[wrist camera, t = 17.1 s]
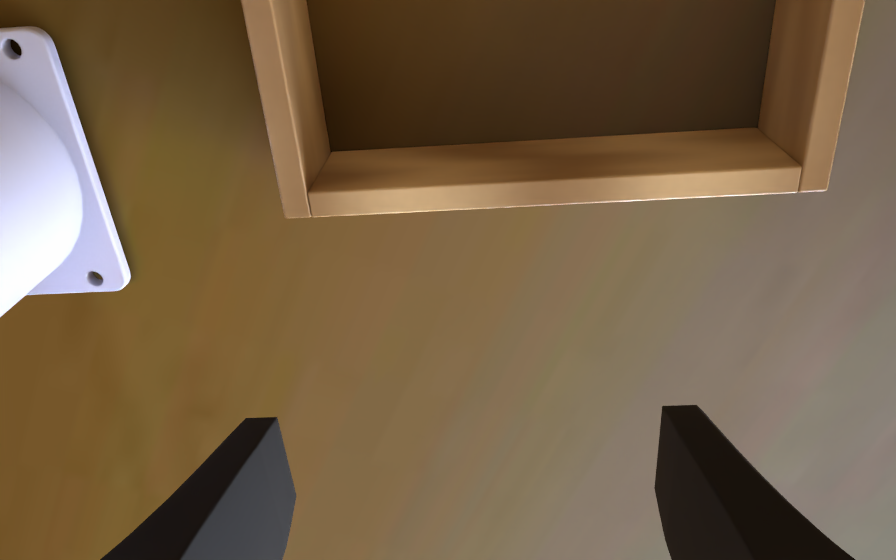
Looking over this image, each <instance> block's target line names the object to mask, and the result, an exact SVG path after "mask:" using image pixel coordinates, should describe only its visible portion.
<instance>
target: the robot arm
mask: <svg viewBox="0 0 896 560" xmlns="http://www.w3.org/2000/svg"><path fill="white" fill-rule="evenodd" d="M11 39H12V40H14V41H16V42H17V43H18V44H19V46H20V47H21V51H22V54H21V56H19V55H17V54H16V53H15V52H14V51H13V50H12V48H11V44H10V41H11ZM93 271H94V272H97V273H99V274H100V275H101V276H102V278H103V280H101V279H98V278H96V277H95V276H94V274H93ZM130 278H131V275H130V270H129V267H128V264H127V261H126V258H125V255H124V252H123V249H122V246H121V243H120V240H119V237H118V234H117V231H116V228H115V225H114V222H113V219H112V216H111V213H110V210H109V207H108V204H107V201H106V198H105V195H104V192H103V189H102V186H101V183H100V180H99V177H98V174H97V171H96V168H95V165H94V162H93V159H92V156H91V153H90V150H89V147H88V144H87V141H86V138H85V135H84V132H83V129H82V126H81V123H80V120H79V117H78V114H77V111H76V108H75V105H74V102H73V99H72V96H71V93H70V90H69V87H68V84H67V81H66V78H65V75H64V71H63V68H62V65H61V62H60V59H59V56H58V53H57V50H56V47H55V44H54V42H53V40H52V39H51V37H50V36H49V35H48V34H47V33H46V32H45V31H44V30H42V29H40V28H38V27H34V26H24V27H10V28H0V317H1V316H2V315H3V314H4V313H6V312H7V311H8V310H9V309H10V308H11V307H12V306H14V305H15V304H16V303H17V302H18V301H19V300H20V299H22V298H23V297H24V296H25V295H34V294H57V293H80V292H103V291H117V290H121V289H122V288H124V287H125V286H126V285H127V283H128V282H129V280H130ZM655 492H656V497H657V502H658V507H659V512H660V517H661V522H662V527H663V531H664V536H665V540H666V544H667V547H668V550H669V553H670V556H671V559H672V560H855V559H854V558H852V557H851V556H850V555H849V554H847V553H846V552H845V551H844V550H842V549H841V548H840V547H839V546H837V545H836V544H835V543H834V542H832V541H831V540H830V539H829V538H828V537H827V536H826V535H824V534H823V533H822V532H821V531H820V530H819V529H817V528H816V527H815V526H814V525H813V524H812V523H811V522H810V521H809V520H808V519H806V518H805V517H804V516H803V515H802V514H801V513H800V512H799V511H798V510H797V509H796V508H794V507H793V506H792V505H791V504H790V503H789V502H788V501H787V500H786V499H785V498H784V497H783V496H782V495H781V494H780V493H779V492H778V491H777V490H776V489H775V488H774V487H773V486H772V485H771V484H770V483H769V482H768V481H767V480H766V479H765V478H764V477H763V476H762V475H761V474H760V473H759V472H758V471H757V470H756V469H755V468H754V467H753V466H752V465H751V464H750V463H749V462H748V461H747V459H746V458H745V457H744V456H743V455H742V454H741V453H740V452H739V451H738V450H737V449H736V448H735V447H734V445H733V444H732V443H731V442H730V441H729V440H728V439H727V438H726V437H725V436H724V434H723V433H722V432H721V431H720V430H719V429H718V428H717V427H716V425H715V424H714V423H713V422H712V421H711V420H710V419H709V417H708V416H707V415H706V414H705V413H704V412H703V411H702V410H701V409H700V408H699V407H698V406H697V405H683V406H662V416H661V426H660V437H659V448H658V458H657V469H656V480H655ZM295 500H296V492H295V488H294V484H293V480H292V476H291V472H290V468H289V464H288V460H287V456H286V452H285V448H284V444H283V439H282V435H281V431H280V427H279V423H278V419H277V417H268V418H246V419H245V420H244V421H243V422H242V423H241V424H240V425H239V426H238V427H237V428H236V429H235V430H234V431H233V432H232V433H231V434H230V435H229V436H228V437H227V438H226V439H225V440H224V441H223V443H222V444H221V445H220V446H219V447H218V448H217V449H216V450H215V451H214V452H213V453H212V454H211V455H210V456H209V457H208V458H207V459H206V460H205V462H204V463H203V464H202V465H201V466H200V467H199V468H198V469H197V470H196V471H195V472H194V473H193V474H192V475H191V476H190V477H189V478H188V479H187V480H186V481H185V482H184V483H183V484H182V485H181V486H180V487H179V488H178V489H177V490H176V491H175V492H174V493H173V494H172V495H171V496H170V497H169V498H168V499H167V500H166V501H165V502H164V503H163V504H162V505H161V506H160V507H159V508H158V509H157V510H156V511H154V512H153V513H152V514H151V515H150V516H149V517H148V518H147V519H146V520H145V521H144V522H143V523H142V524H141V525H139V526H138V527H137V528H136V529H135V530H134V531H133V532H132V533H131V534H130V535H129V536H128V537H126V538H125V539H124V540H123V541H122V542H121V543H120V544H118V545H117V546H116V547H115V548H114V549H112V550H111V551H110V552H109V553H108V554H106V555H105V556H104V557H103V558H101V559H100V560H282V559H283V555H284V552H285V549H286V546H287V541H288V536H289V531H290V527H291V522H292V516H293V511H294V505H295Z"/></svg>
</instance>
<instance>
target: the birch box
mask: <svg viewBox="0 0 896 560" xmlns="http://www.w3.org/2000/svg"><path fill="white" fill-rule="evenodd" d="M241 4H242V9H243V13H244V18H245V23H246V28H247V33H248V38H249V43H250V48H251V53H252V58H253V63H254V68H255V73H256V78H257V83H258V88H259V93H260V97H261V102H262V107H263V112H264V117H265V122H266V127H267V132H268V137H269V142H270V147H271V152H272V157H273V162H274V167H275V172H276V176H277V181H278V186H279V191H280V196H281V201H282V206H283V211H284V216H285V218H305V217H311V215H312V217H326V216H346V215H366V214H385V213H405V212H425V211H445V210H465V209H484V208H504V207H524V206H544V205H564V204H583V203H603V202H623V201H643V200H663V199H682V198H702V197H722V196H742V195H762V194H781V193H796V192H797V191H798V192H816V191H826V190H827V189H828V184H829V179H830V174H831V169H832V164H833V159H834V154H835V149H836V144H837V139H838V134H839V129H840V124H841V119H842V114H843V109H844V104H845V99H846V94H847V89H848V84H849V79H850V74H851V69H852V64H853V59H854V54H855V49H856V44H857V39H858V34H859V29H860V24H861V19H862V14H863V9H864V4H865V0H776V4H775V11H774V18H773V25H772V32H771V39H770V46H769V53H768V60H767V67H766V74H765V81H764V88H763V95H762V102H761V109H760V116H759V123H758V128H756V127H755V128H737V129H720V130H703V131H685V132H668V133H650V134H633V135H616V136H598V137H581V138H563V139H546V140H529V141H511V142H494V143H476V144H459V145H442V146H424V147H407V148H389V149H372V150H355V151H337V152H331V151H330V145H329V139H328V133H327V127H326V120H325V114H324V108H323V102H322V95H321V89H320V83H319V77H318V70H317V64H316V58H315V52H314V45H313V39H312V33H311V27H310V20H309V14H308V8H307V2H306V0H241Z"/></svg>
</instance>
